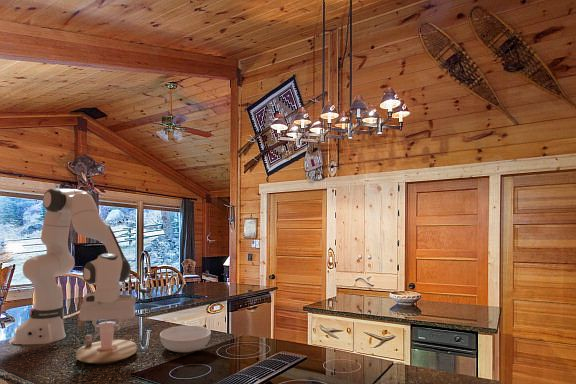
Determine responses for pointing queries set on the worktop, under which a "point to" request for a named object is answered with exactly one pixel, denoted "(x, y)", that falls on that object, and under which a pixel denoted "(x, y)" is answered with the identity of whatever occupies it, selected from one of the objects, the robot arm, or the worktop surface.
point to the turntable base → (106, 362)
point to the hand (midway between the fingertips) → (107, 330)
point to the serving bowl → (185, 338)
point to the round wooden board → (105, 351)
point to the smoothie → (106, 334)
